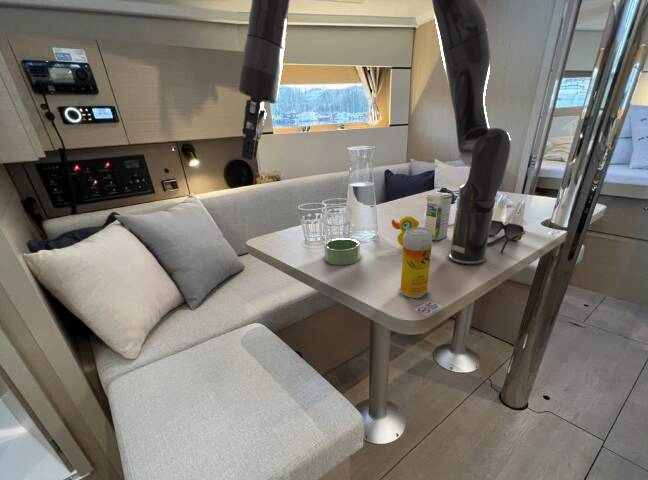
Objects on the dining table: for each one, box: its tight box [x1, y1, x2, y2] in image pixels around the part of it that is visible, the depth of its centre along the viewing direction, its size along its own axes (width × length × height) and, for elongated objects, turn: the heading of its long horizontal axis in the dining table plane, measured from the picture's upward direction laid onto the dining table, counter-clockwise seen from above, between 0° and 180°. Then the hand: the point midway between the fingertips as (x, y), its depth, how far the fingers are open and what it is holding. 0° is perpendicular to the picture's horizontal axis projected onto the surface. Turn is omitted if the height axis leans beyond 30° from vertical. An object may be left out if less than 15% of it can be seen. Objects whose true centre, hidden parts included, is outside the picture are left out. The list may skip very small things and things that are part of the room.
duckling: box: [391, 215, 420, 248], centre depth 98 cm, size 11×5×10 cm, turn 74°
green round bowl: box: [323, 238, 361, 266], centre depth 95 cm, size 10×10×4 cm
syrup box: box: [424, 191, 453, 241], centre depth 105 cm, size 6×6×14 cm
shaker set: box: [492, 194, 526, 227], centre depth 112 cm, size 12×4×11 cm, turn 30°
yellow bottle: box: [400, 226, 433, 299], centre depth 71 cm, size 6×6×15 cm
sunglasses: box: [489, 220, 527, 254], centre depth 101 cm, size 14×15×5 cm
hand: (249, 157), depth 69 cm, fingers open, 8 cm apart
